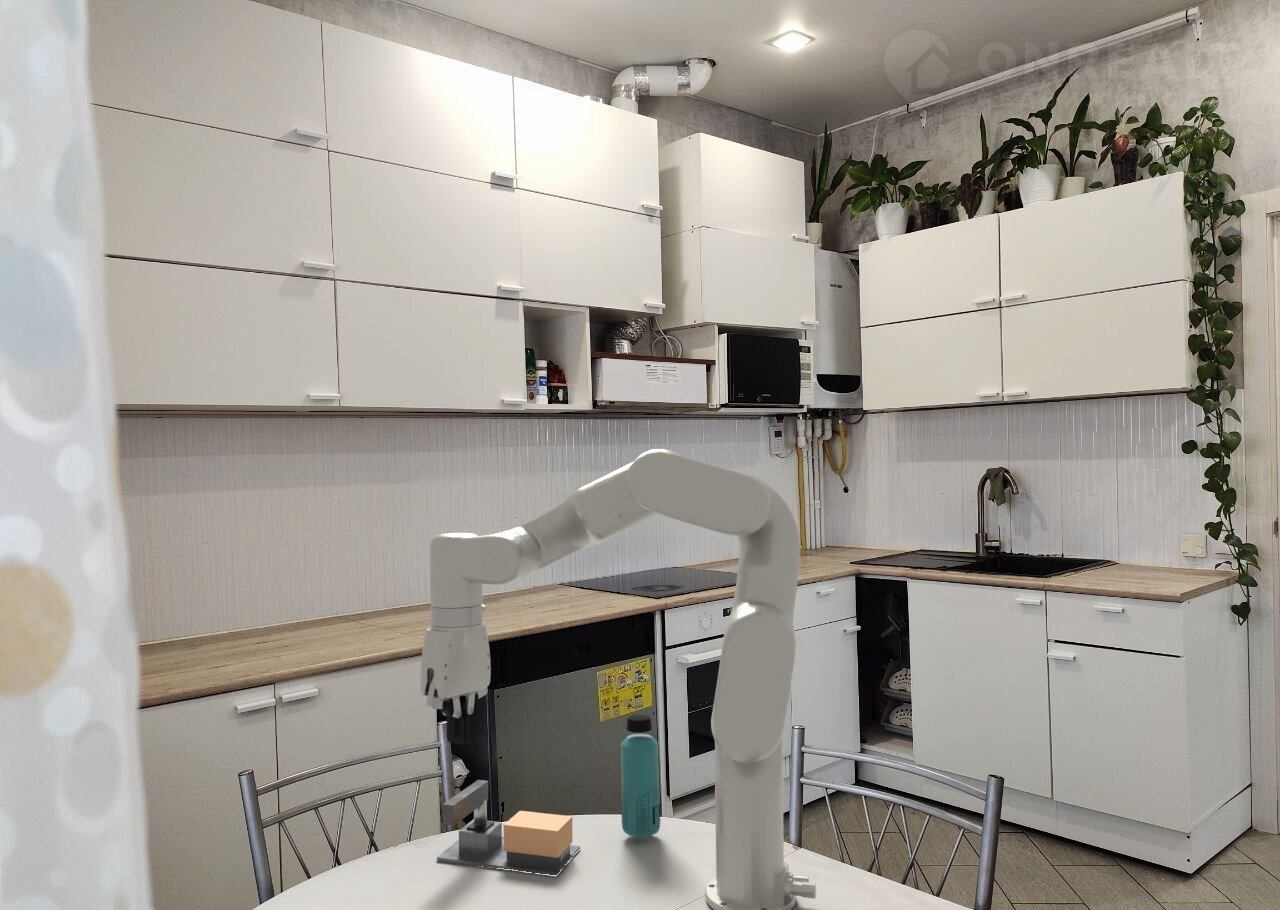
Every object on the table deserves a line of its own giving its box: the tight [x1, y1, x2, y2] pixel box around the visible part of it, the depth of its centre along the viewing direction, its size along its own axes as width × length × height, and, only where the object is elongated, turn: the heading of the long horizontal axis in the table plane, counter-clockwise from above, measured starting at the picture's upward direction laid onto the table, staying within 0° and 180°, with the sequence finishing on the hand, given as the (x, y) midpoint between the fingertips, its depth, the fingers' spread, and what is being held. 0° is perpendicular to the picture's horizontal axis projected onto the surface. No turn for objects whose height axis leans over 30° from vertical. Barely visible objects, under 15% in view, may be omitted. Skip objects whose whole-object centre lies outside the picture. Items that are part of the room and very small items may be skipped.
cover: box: [503, 810, 573, 858], centre depth 142 cm, size 9×6×4 cm, turn 73°
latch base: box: [436, 818, 581, 875], centre depth 143 cm, size 20×10×4 cm, turn 73°
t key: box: [442, 779, 489, 827], centre depth 140 cm, size 11×2×6 cm, turn 162°
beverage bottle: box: [620, 714, 662, 838], centre depth 149 cm, size 6×7×20 cm
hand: (458, 741), depth 134 cm, fingers closed
